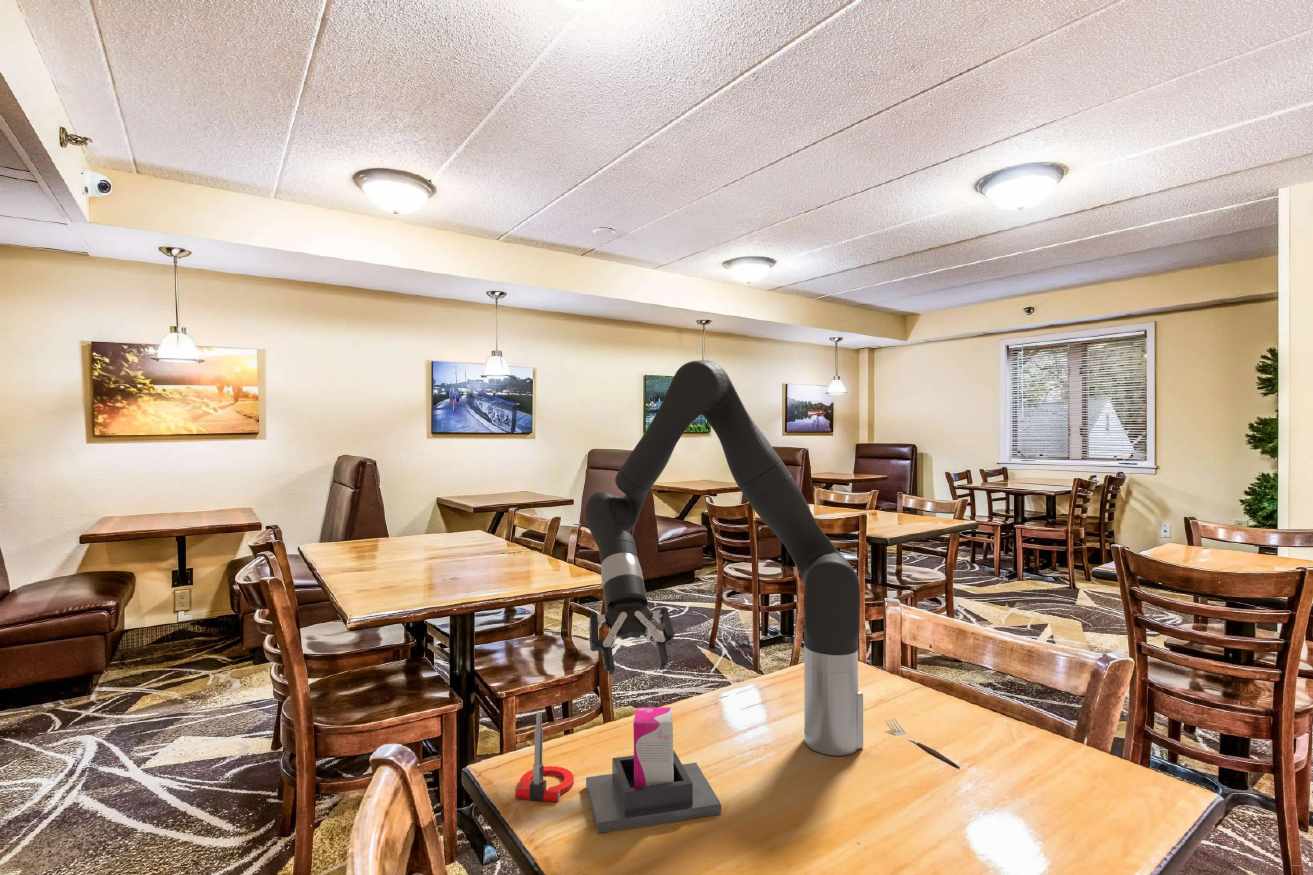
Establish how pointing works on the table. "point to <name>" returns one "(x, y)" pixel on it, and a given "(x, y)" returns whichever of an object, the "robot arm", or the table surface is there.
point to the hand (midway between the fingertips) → (637, 669)
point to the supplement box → (653, 746)
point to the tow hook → (538, 785)
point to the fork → (921, 744)
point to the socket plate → (649, 797)
